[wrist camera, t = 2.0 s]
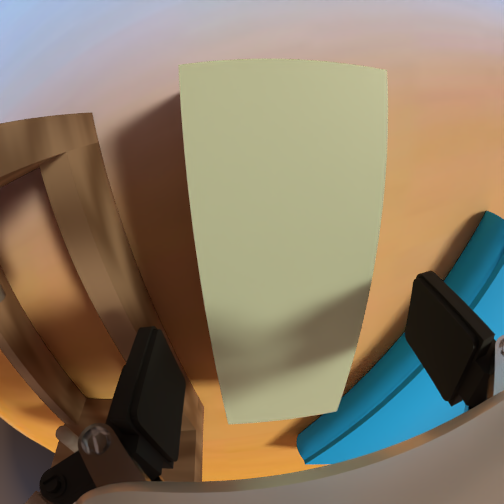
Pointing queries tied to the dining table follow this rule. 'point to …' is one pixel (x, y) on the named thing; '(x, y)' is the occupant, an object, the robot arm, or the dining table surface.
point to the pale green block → (284, 223)
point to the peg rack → (83, 278)
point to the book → (410, 369)
